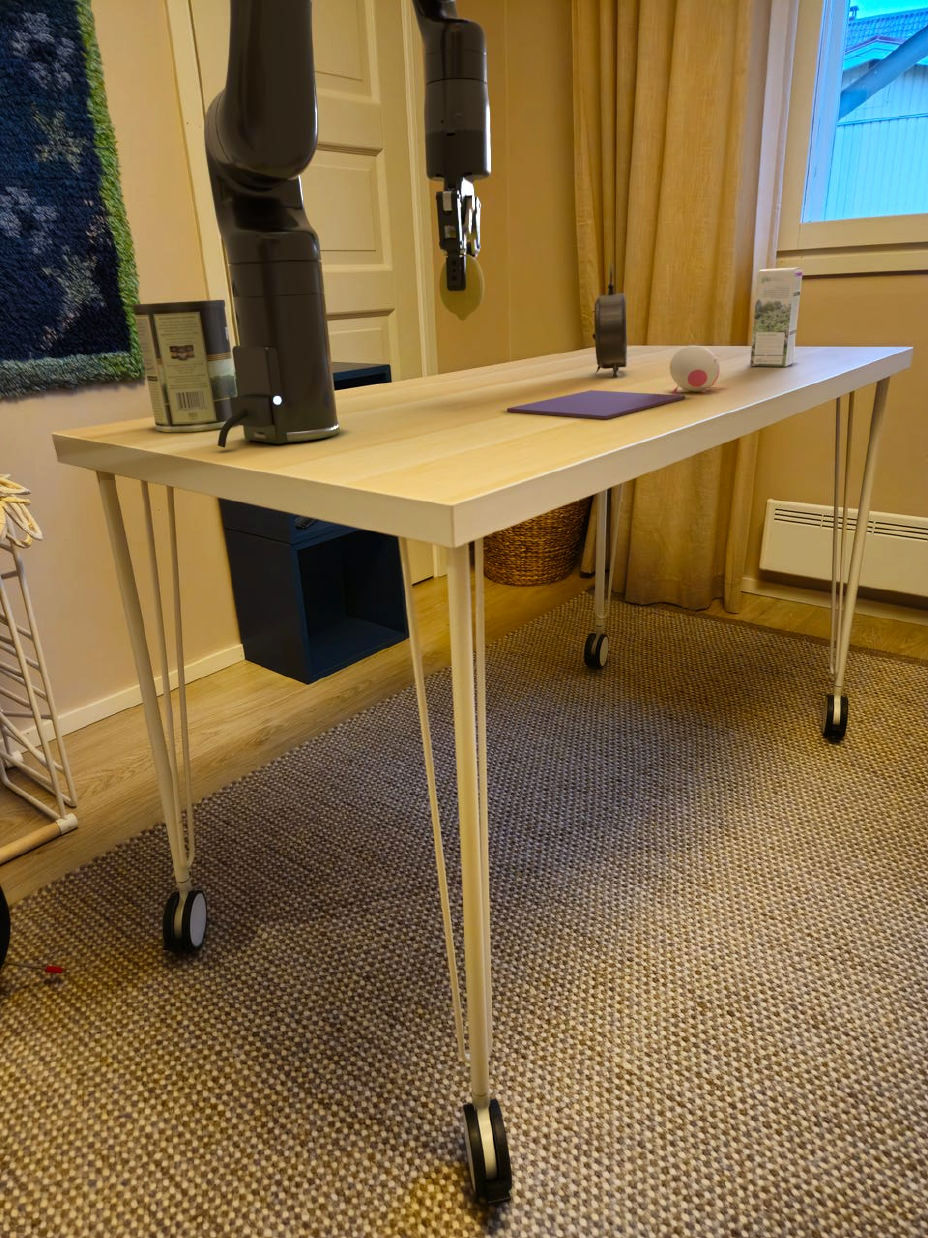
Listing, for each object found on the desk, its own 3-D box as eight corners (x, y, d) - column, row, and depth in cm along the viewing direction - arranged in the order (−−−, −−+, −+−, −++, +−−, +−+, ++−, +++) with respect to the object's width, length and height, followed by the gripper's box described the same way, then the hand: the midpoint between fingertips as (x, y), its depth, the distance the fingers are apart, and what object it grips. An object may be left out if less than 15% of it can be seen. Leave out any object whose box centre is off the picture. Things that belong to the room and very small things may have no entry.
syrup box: (794, 363, 135) (804, 266, 129) (785, 367, 130) (795, 267, 125) (758, 363, 138) (766, 268, 132) (748, 366, 133) (756, 269, 128)
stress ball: (717, 419, 107) (748, 373, 106) (672, 386, 104) (703, 339, 103) (691, 409, 114) (720, 366, 112) (648, 378, 111) (677, 333, 109)
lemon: (457, 319, 106) (455, 251, 103) (493, 319, 103) (492, 249, 100) (431, 321, 102) (428, 250, 99) (468, 321, 99) (466, 248, 96)
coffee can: (222, 416, 107) (205, 299, 102) (256, 424, 99) (238, 298, 94) (142, 426, 101) (119, 304, 96) (171, 435, 94) (148, 303, 88)
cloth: (605, 419, 91) (605, 415, 91) (507, 411, 100) (507, 408, 99) (685, 398, 103) (685, 395, 103) (591, 393, 112) (591, 390, 112)
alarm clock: (625, 378, 126) (628, 262, 120) (589, 379, 127) (591, 264, 121) (627, 370, 136) (630, 263, 130) (594, 371, 137) (595, 265, 131)
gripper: (439, 143, 102) (445, 291, 108) (409, 123, 89) (417, 292, 95) (499, 139, 100) (501, 289, 107) (477, 118, 87) (481, 289, 94)
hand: (461, 289), depth 101 cm, fingers closed on lemon, 5 cm apart
